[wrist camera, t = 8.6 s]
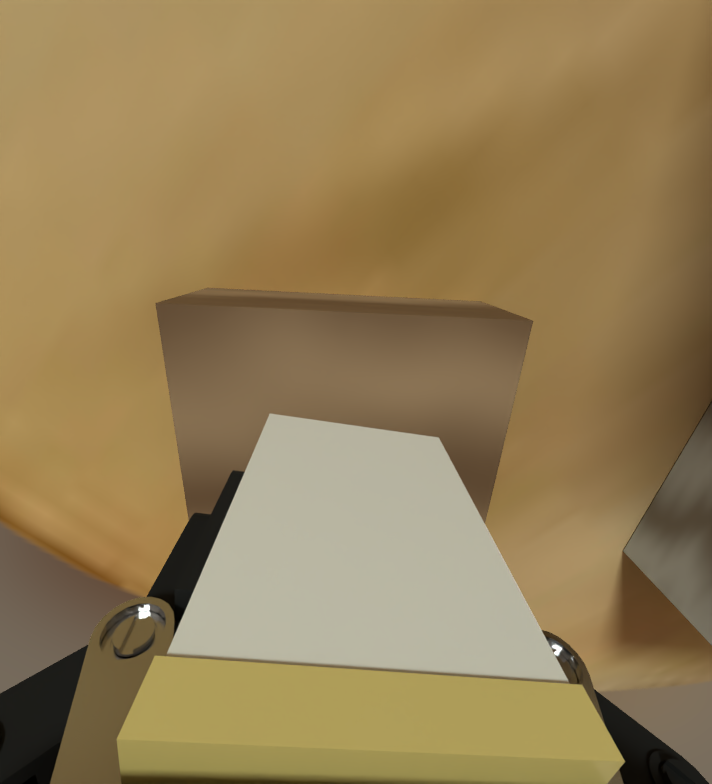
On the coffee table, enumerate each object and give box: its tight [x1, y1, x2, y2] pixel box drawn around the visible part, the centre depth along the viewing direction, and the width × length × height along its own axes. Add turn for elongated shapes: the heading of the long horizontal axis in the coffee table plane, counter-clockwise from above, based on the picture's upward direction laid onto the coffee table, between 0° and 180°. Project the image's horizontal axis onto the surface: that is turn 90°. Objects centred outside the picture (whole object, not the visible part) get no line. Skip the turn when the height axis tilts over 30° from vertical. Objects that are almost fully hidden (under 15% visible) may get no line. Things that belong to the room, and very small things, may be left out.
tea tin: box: [117, 414, 625, 784], centre depth 9 cm, size 6×6×8 cm
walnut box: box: [156, 288, 533, 523], centre depth 16 cm, size 12×12×5 cm
